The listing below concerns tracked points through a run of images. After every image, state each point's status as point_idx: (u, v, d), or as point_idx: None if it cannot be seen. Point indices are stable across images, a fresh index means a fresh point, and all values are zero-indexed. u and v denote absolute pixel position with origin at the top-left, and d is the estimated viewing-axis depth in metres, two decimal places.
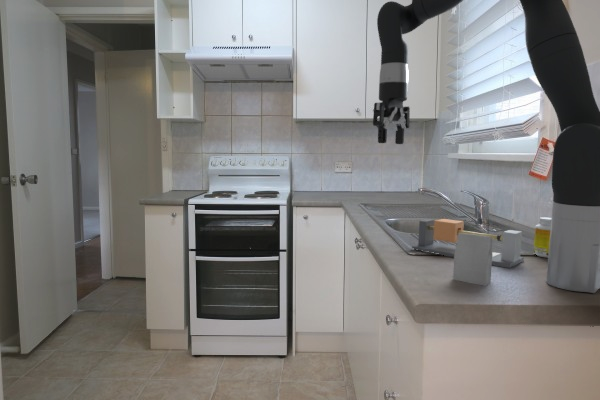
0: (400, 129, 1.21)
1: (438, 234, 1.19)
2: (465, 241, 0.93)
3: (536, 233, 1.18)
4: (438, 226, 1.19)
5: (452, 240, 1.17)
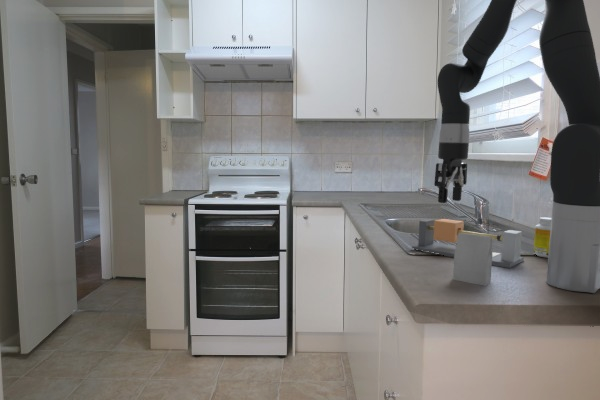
0: (458, 186, 1.21)
1: (438, 234, 1.19)
2: (465, 241, 0.93)
3: (536, 233, 1.18)
4: (438, 226, 1.19)
5: (452, 240, 1.17)
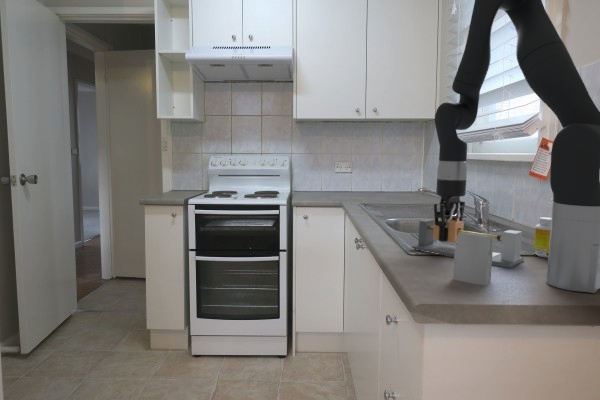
0: None
1: (438, 234, 1.19)
2: (465, 241, 0.93)
3: (536, 233, 1.18)
4: None
5: (452, 240, 1.17)
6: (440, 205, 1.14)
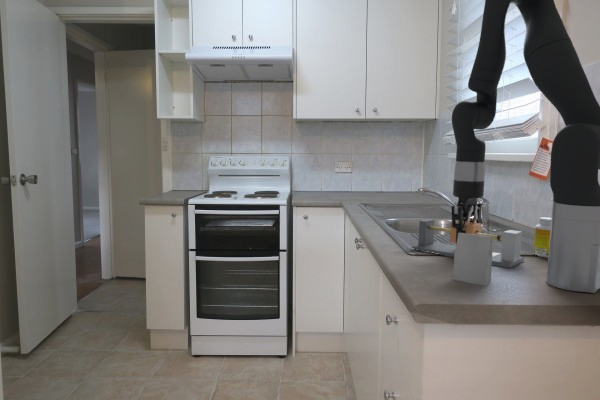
0: None
1: (455, 237, 1.16)
2: (465, 241, 0.93)
3: (536, 233, 1.18)
4: None
5: None
6: (458, 207, 1.11)
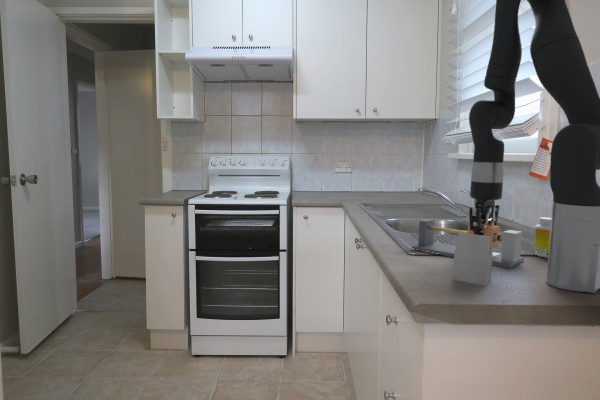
0: None
1: None
2: (465, 241, 0.93)
3: (536, 233, 1.18)
4: (472, 231, 1.13)
5: None
6: (476, 209, 1.08)
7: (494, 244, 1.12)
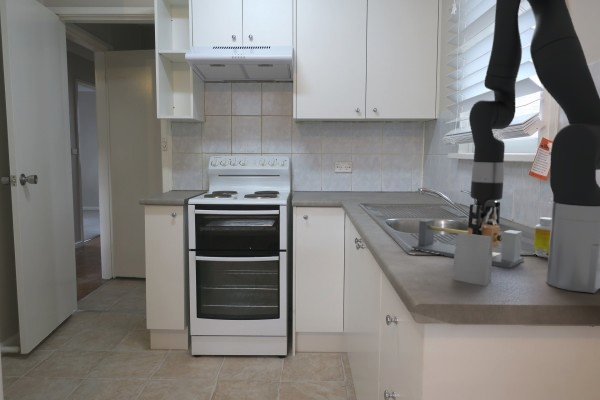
0: None
1: None
2: (465, 241, 0.93)
3: (536, 233, 1.18)
4: None
5: None
6: (477, 205, 1.07)
7: (494, 244, 1.12)
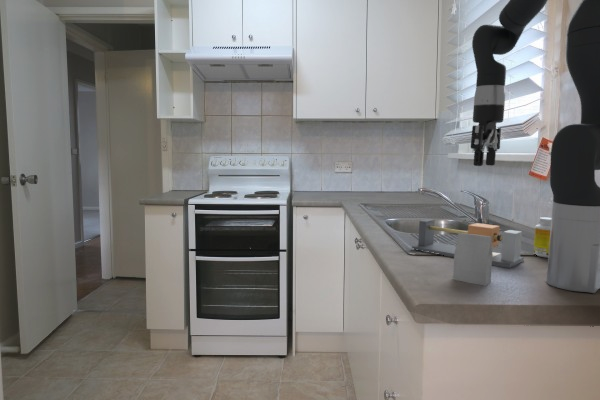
0: (492, 150, 1.20)
1: None
2: (465, 241, 0.93)
3: (536, 233, 1.18)
4: (472, 231, 1.13)
5: None
6: (479, 125, 1.12)
7: (494, 244, 1.12)
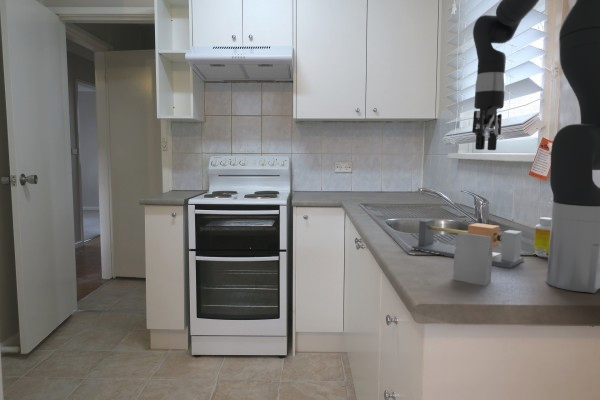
0: (493, 136, 1.26)
1: None
2: (465, 241, 0.93)
3: (536, 233, 1.18)
4: (472, 231, 1.13)
5: None
6: (480, 111, 1.17)
7: (494, 244, 1.12)
